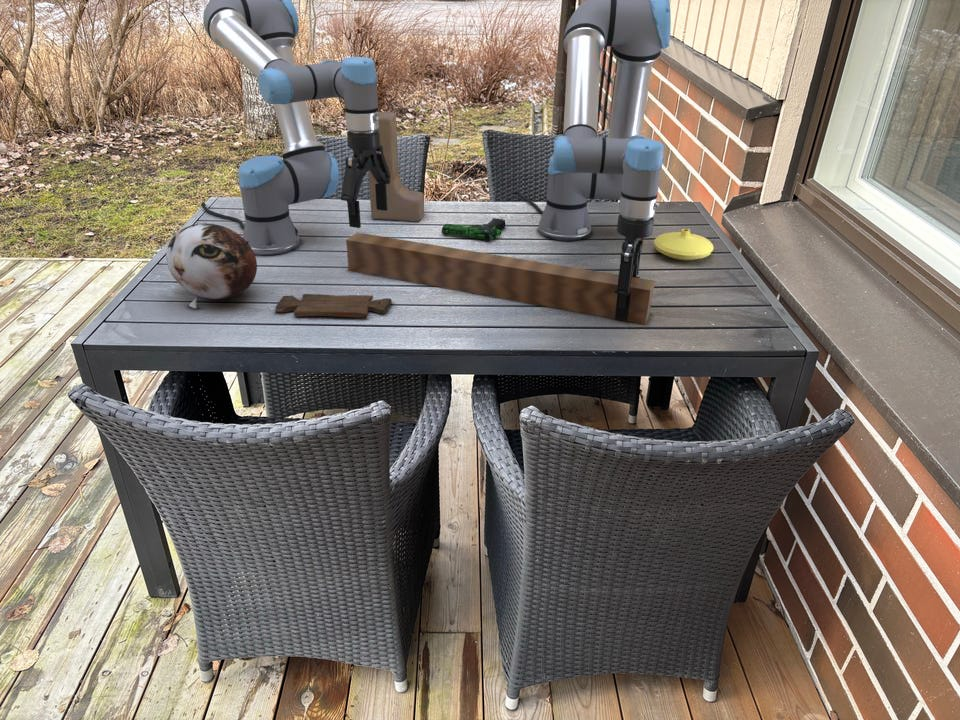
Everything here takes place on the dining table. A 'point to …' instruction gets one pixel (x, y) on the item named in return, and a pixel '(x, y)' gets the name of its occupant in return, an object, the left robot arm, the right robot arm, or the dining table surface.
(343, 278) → the dining table surface
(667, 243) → the vase
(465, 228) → the handgun
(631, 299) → the bar
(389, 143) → the decorative block
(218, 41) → the left robot arm
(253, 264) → the cat face balloon
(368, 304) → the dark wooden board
